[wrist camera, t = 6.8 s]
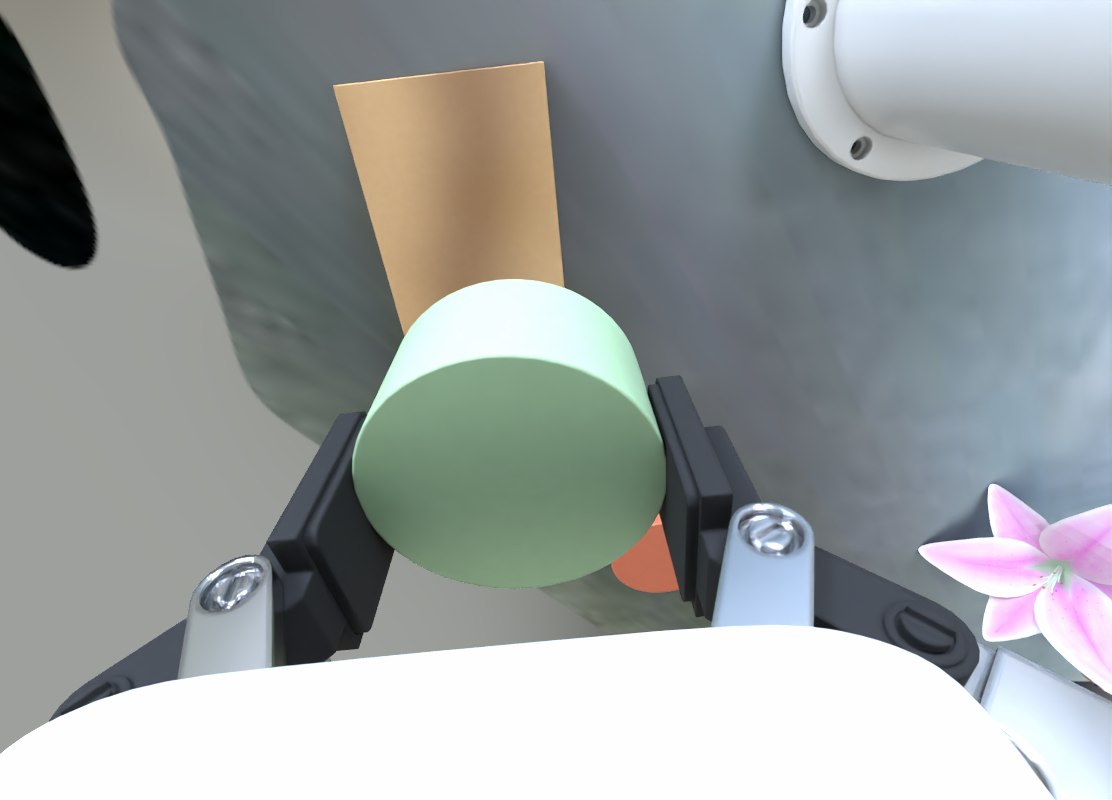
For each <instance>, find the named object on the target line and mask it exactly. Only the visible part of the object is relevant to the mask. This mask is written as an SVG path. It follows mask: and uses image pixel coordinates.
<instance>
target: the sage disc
mask: <svg viewBox="0 0 1112 800" xmlns="http://www.w3.org/2000/svg"><path fill="white" fill-rule="evenodd" d="M352 475H353V482H354V489H355V492H356V495H357V497H358V500H359V502H360V504H361V506H362V508H363V511H364V513H365V515H366V517H367V519H368V521H369V522H370V524H371V525H372V526H373V528H374V529H375V530H376V532H377V533H378V534H379V535H380V536H381V537H382V538H383V539H384V540H385V541H386V542H387V543H388V544H389V545H390V546H391V547H393V548H394V549H395V550H396V551H397V552H399V553H400V554H402V555H403V556H404V557H406V558H408V559H409V560H410V561H412V562H413V563H415V564H417V565H419V566H421V567H423V568H425V569H427V570H429V571H431V572H434V573H436V574H439V575H441V576H444V577H446V578H450V579H453V580H456V581H460V582H464V583H468V584H474V585H478V586H485V587H493V588H513V589H515V588H534V587H542V586H549V585H554V584H559V583H563V582H567V581H570V580H574V579H577V578H580V577H583V576H585V575H588V574H590V573H593V572H595V571H597V570H599V569H601V568H603V567H605V566H607V565H609V564H610V563H612V562H613V561H615V560H616V559H618V558H619V557H621V556H622V555H624V554H625V553H626V552H627V551H629V550H630V549H631V548H632V547H633V546H634V545H636V544H637V543H638V541H639V540H640V539H641V538H642V537H643V536H644V535H645V534H646V533H647V531H648V530H649V528H650V527H651V525H652V524H653V523H654V521H655V519H656V517H657V515H658V513H659V511H660V509H661V507H662V504H663V501H664V497H665V494H666V452H665V447H664V443H663V440H662V437H661V434H660V431H659V428H658V425H657V422H656V418H655V415H654V412H653V409H652V406H651V403H650V400H649V397H648V393H647V390H646V387H645V384H644V381H643V378H642V375H641V372H640V368H639V365H638V362H637V359H636V356H635V354H634V352H633V349H632V347H631V344H630V343H629V341H628V339H627V338H626V336H625V334H624V333H623V331H622V330H621V329H620V328H619V326H618V325H617V324H616V323H615V321H614V320H613V319H612V318H611V317H610V316H609V315H607V314H606V313H605V312H604V311H603V310H602V309H601V308H600V307H598V306H597V305H595V304H594V303H592V302H591V301H589V300H588V299H586V298H584V297H582V296H580V295H579V294H577V293H575V292H573V291H570V290H568V289H565V288H562V287H559V286H556V285H553V284H549V283H544V282H540V281H533V280H522V279H507V280H495V281H489V282H483V283H479V284H475V285H472V286H469V287H465V288H463V289H461V290H458V291H456V292H454V293H452V294H449V295H448V296H446V297H444V298H443V299H441V300H440V301H438V302H436V303H435V304H433V305H432V306H431V307H430V308H429V309H428V310H426V311H425V312H424V313H423V314H422V315H421V316H420V317H419V318H418V319H417V320H416V322H415V323H414V324H413V325H412V326H411V328H410V329H409V331H408V332H407V334H406V336H405V337H404V339H403V341H402V343H401V345H400V347H399V349H398V351H397V353H396V356H395V358H394V360H393V362H392V364H391V366H390V368H389V370H388V372H387V375H386V377H385V379H384V381H383V383H382V385H381V387H380V389H379V392H378V394H377V396H376V398H375V400H374V402H373V404H372V406H371V409H370V411H369V413H368V415H367V417H366V419H365V421H364V423H363V426H362V428H361V430H360V433H359V435H358V437H357V440H356V444H355V448H354V453H353V460H352Z"/></svg>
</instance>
